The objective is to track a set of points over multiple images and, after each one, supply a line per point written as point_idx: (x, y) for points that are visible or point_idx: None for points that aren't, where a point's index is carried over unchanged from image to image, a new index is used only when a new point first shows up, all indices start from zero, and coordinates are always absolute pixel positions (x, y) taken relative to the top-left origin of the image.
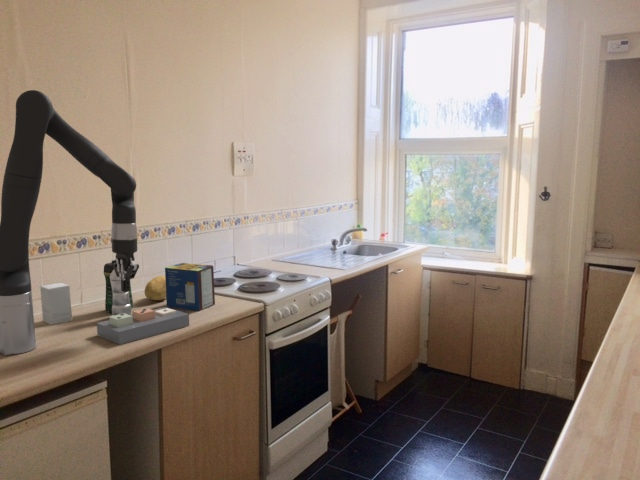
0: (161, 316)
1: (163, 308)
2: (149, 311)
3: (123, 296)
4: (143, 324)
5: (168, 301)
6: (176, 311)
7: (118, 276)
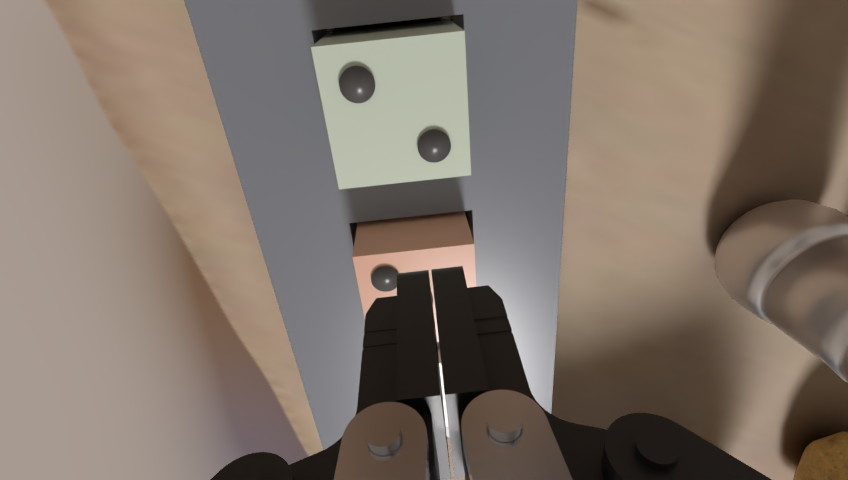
0: None
1: None
2: None
3: (825, 324)
4: (278, 213)
5: None
6: None
7: (608, 433)
